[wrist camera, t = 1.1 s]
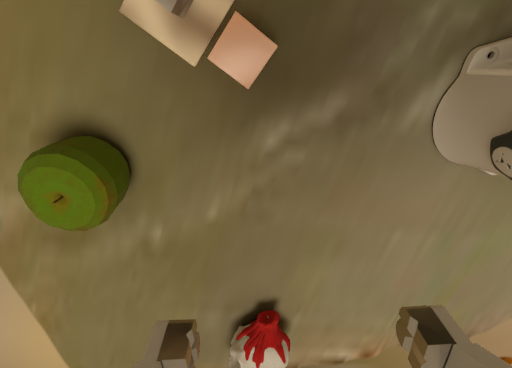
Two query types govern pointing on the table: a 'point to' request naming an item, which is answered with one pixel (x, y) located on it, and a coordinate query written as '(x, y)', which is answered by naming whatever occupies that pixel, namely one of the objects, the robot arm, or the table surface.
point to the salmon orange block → (242, 50)
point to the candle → (260, 344)
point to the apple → (74, 182)
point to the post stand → (179, 22)
